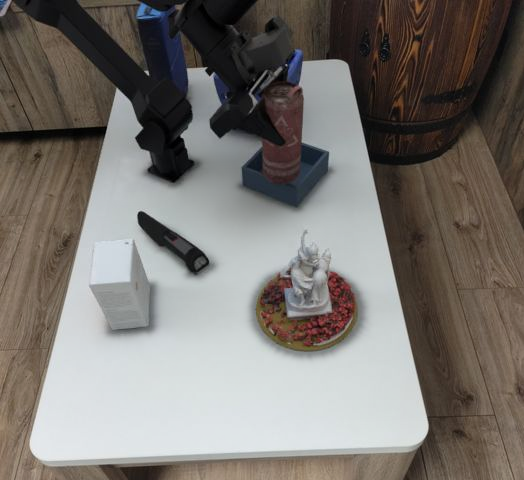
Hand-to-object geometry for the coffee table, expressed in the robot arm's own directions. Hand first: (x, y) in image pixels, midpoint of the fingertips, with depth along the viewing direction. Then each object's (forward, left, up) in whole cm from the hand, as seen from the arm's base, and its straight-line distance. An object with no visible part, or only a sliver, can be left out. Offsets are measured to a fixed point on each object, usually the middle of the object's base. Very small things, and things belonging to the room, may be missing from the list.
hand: (290, 134), depth 75 cm
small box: (-9, -32, -13) cm, 36 cm away
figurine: (+14, -19, -13) cm, 27 cm away
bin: (-4, +5, -13) cm, 15 cm away
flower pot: (-17, +17, -13) cm, 28 cm away
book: (-36, +14, -13) cm, 41 cm away
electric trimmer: (-11, -19, -13) cm, 26 cm away
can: (-2, 0, -8) cm, 8 cm away
